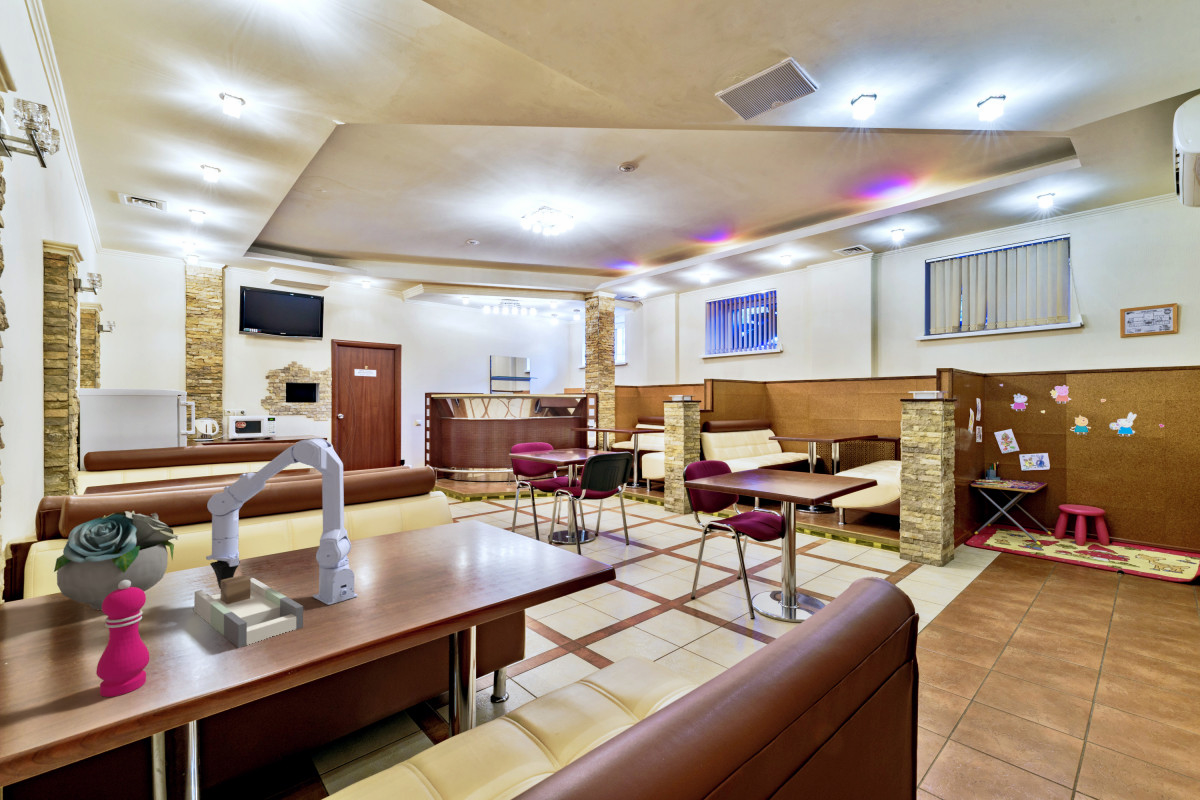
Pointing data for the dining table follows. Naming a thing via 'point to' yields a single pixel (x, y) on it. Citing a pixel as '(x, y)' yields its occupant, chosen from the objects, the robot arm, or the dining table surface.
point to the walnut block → (235, 589)
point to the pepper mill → (123, 642)
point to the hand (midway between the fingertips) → (224, 588)
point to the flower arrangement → (113, 556)
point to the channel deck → (250, 614)
